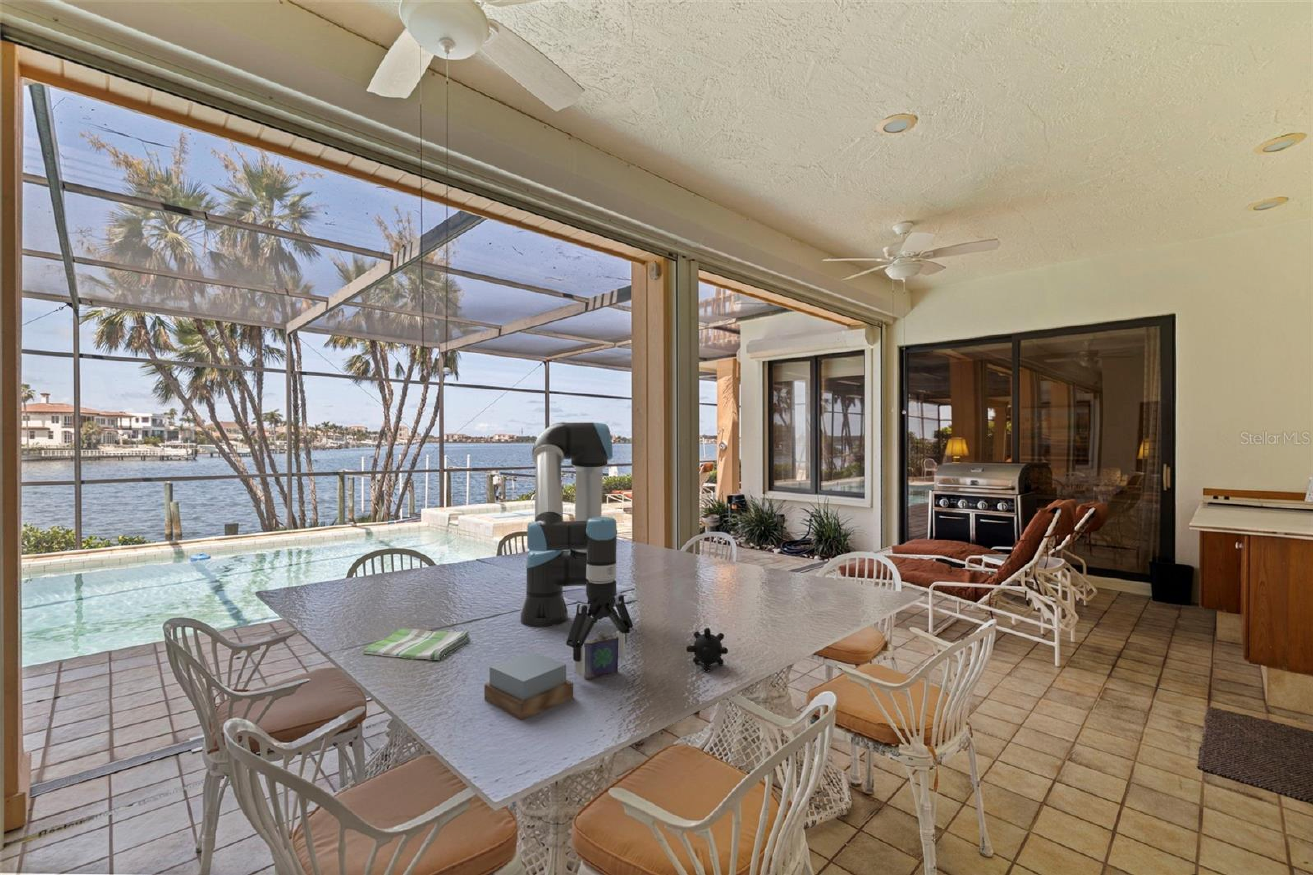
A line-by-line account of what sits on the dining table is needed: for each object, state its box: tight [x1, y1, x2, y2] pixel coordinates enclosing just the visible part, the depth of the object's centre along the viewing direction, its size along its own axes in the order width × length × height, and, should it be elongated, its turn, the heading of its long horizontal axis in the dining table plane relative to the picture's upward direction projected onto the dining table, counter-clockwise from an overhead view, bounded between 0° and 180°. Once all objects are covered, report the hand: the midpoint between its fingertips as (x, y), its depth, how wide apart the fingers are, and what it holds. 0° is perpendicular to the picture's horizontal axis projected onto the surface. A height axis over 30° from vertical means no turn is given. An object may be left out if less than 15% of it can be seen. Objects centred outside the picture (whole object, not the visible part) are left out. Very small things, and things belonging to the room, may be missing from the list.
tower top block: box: [489, 651, 567, 700], centre depth 127 cm, size 12×12×4 cm
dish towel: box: [363, 628, 471, 661], centre depth 159 cm, size 17×23×4 cm
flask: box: [583, 630, 619, 680], centre depth 140 cm, size 9×3×11 cm, turn 121°
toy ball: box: [686, 627, 729, 672], centre depth 146 cm, size 11×11×12 cm
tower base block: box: [483, 679, 574, 721], centre depth 127 cm, size 14×14×4 cm
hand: (600, 665), depth 140 cm, fingers open, 13 cm apart
